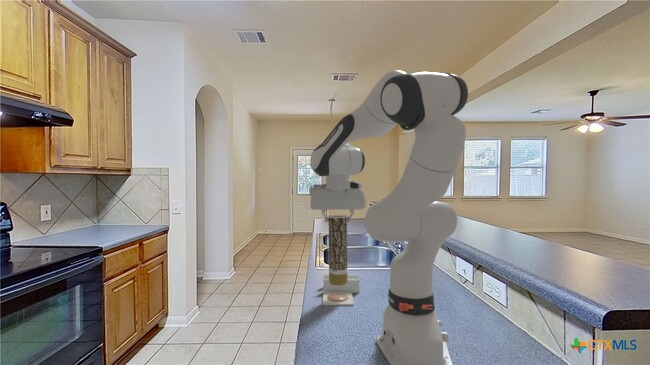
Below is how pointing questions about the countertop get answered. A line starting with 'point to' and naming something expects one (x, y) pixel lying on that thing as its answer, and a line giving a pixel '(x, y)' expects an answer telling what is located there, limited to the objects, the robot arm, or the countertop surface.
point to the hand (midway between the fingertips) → (337, 221)
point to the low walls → (350, 286)
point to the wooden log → (338, 249)
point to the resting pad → (338, 298)
